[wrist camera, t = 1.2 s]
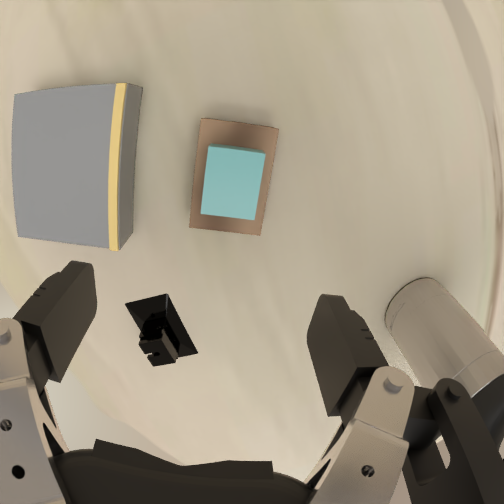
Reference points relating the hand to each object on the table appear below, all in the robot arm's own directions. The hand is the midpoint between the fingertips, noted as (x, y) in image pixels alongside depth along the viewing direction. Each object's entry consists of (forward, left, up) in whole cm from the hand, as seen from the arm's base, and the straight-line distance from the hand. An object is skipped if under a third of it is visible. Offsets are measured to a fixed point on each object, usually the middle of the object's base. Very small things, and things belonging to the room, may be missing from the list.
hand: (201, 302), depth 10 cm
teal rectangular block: (-1, -1, -15) cm, 15 cm away
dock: (+14, -1, -18) cm, 23 cm away
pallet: (-1, -1, -19) cm, 19 cm away
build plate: (+5, +18, -19) cm, 27 cm away
